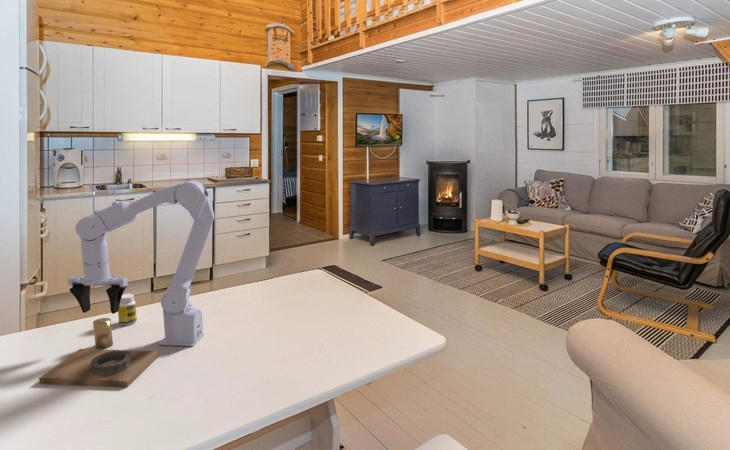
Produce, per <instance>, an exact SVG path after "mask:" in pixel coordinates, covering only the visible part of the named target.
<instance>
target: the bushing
mask: <svg viewBox="0 0 730 450" xmlns="http://www.w3.org/2000/svg"><path fill="white" fill-rule="evenodd" d="M92 325H93V336H94V337H93V338H94V345H95V346H94V347H95V349H102V350H107V349H108V348H111V347H113V345H114V342H113V341H114V340H113V331H112V319H111V318H110V317H101V318H98V319H95V320H93V321H92Z"/></svg>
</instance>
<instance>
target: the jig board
mask: <svg viewBox="0 0 730 450" xmlns="http://www.w3.org/2000/svg"><path fill="white" fill-rule="evenodd" d="M158 357H159V351H157V350H156V351H155V350H153V351H152V350H128V349H127V350H125V349H124V350H122V349H96V348H79V349H78V350H76V351H75V352H74V353H72V354H70V355H69V356H68V357H66V358H65V359H64V360H62V361H61V362H59V363H58V364H56V365H55V366H54V367H52V368H51V369H50V370H48V371H46V372H45V373H44V374H42V375H41V376H39V377H38V381H39V384H40V385H62V386H84V387H85V386H89V387H111V388H112V387H113V388H129V386H130V385H131V384H133V383H134V381H135V380H136V379H138V378H139V377H140V376H141V375H142V373H144V371H146V370H147V368H148V367H150V366H151V364H152V363H154V361H156V360H157V359H158Z"/></svg>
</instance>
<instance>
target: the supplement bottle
mask: <svg viewBox="0 0 730 450" xmlns="http://www.w3.org/2000/svg"><path fill="white" fill-rule="evenodd" d="M136 303H137V302H136V300H135V297H134V294H132V293H125V294H124V293H123V295H122V297H121V301H120V305H119V311H118V312H117V314H118V316H117V317H118V324H119V325H120V326H132V325H134V324H136V322H137V321H138V318H137V304H136Z"/></svg>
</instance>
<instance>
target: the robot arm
mask: <svg viewBox="0 0 730 450" xmlns="http://www.w3.org/2000/svg"><path fill="white" fill-rule="evenodd" d="M211 202H212V201H211V198H210V193H209V191H208V190H207V188H206V186H205V185H204V184H203V182H201V181H199V180H197V179H194V178H193V179H188V180H185V181H184V182H183V183H182V182H179V183H174V184H171V185H168V186H165V187H163V188H161V189H158V190H156V191H154V192H152V193H149V194H148V195H145V196H144V197H141V198H139V199H137V200H135V201H133V202H128V201H124V200H122V201H119V200H115V201H113V202H111V205H110V206H108V207H106V208H103V209H101V210H99V209H96V210H94V211H93V212H92V214H89V215H87V216H83V217H82V218H80V220H78V221H77V223H76V225H75V231H76V234H77V235H78V237H80V238H79V239H80V249H81V258H82V267H83V275H72V276H70V277H68V278H67V285H68V286H72V287H71V288H69V292H70V293H71V294H72V296H73V297H74V298H75V299H76V300H77V302H78V305H79V306H80V308H81V312H82V313H84V314H85V313H88V312H89V311H90V310H91V296H90V295H91V287H92V286H103V287H104V286H105V287H107V286H108V288H106V289H105V292H106V294H107V297H108V300H109V301H108V302H109V305H110V313H111V314H116V313H118V311H119V305H120V301H121V297H122V295H123V294H124V292H125V290H126V288H127V286H128V285H129V283H128V277H121V276H116V275H111V271H110V260H109V259H110V258H109V249H108V240H107V232H109V233H110V232H112V231H115V230H117V229H119V228H121V227H123V226H126V225H128V224H131V223H134V221H135V220H136V217H137V215H138V214H141V213H143V212H145V211H147V210H150V209H153V208H155V207H158V206H160V205H163V204H169V205H170V204H171V205H176V204H177V203H178V204H179V205H180V206H182V207H183V208H184V209H185V210H187V212H188V213H189V214H190V216H191V217H192V219H193V222H192V226H191V229H190V232H189V234H188V237H187V240H186V242H185V245H184V247H183V251H182V254H181V256H180V259H179V263H178V264H177V265H178V266H177V268H176V271H175V273H174V277H173V278H172V281H171V283H170V284H169V285H168V287H167V288H166V291H165V293H164V294H163V295H162V297H161V298H160V304H161V307H162V312H163V313H162V314H163V315H162V316H163V328H164V338H162V340H160V341H159V342H158V345H159V346H175V347H176V346H181V347H182V346H183V347H194V346H195V345H196V344H197V343H198V341H200V339H201V338H202V337H203V336H204V335H205V332H204V325H203V324H204V323H203V312H202V310H201V309H199V308H198V309H197V308H194V307H192V303H191V302H190V301H189V298H190V297H191V294H192V288H191V287H192V286H191V285H192V281H193V278H194V275H195V273H196V270H197V267H198V265H199V262H200V258H201V256H202V253H203V250H204V247H205V244H206V242H207V239H208V236H209V234H210V231H211V228H212V226H213V223H214V220H215V214H214V213H215V212H214V209H213V206H212V203H211Z"/></svg>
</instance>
